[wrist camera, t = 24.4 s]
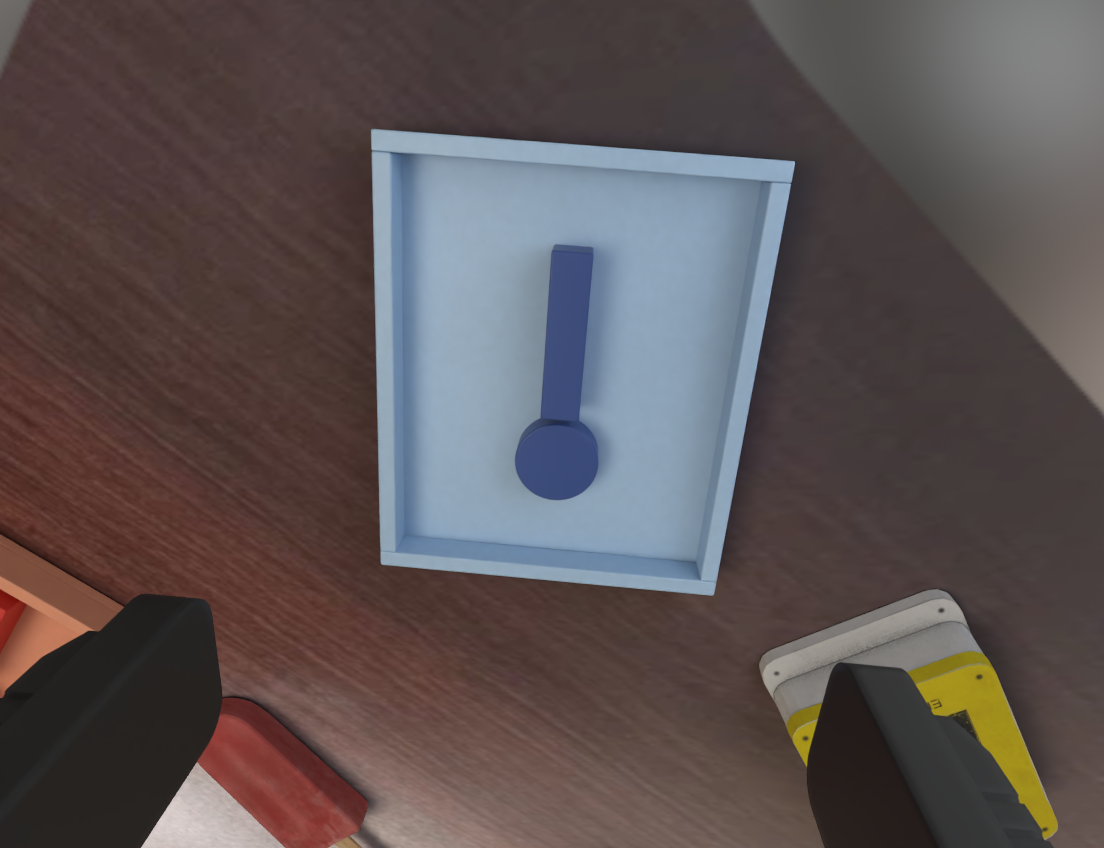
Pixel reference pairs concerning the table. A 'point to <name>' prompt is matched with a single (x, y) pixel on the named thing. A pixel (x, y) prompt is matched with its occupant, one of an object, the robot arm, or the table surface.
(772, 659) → the emergency button
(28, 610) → the clay tray
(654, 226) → the blue tray
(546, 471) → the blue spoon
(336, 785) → the popsicle
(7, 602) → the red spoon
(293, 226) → the table surface
